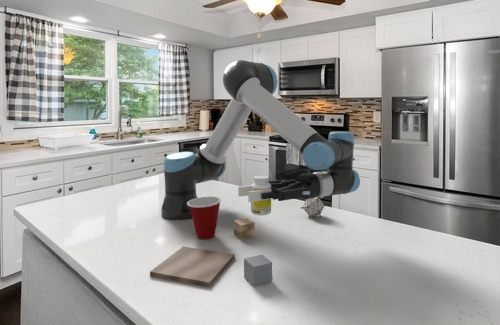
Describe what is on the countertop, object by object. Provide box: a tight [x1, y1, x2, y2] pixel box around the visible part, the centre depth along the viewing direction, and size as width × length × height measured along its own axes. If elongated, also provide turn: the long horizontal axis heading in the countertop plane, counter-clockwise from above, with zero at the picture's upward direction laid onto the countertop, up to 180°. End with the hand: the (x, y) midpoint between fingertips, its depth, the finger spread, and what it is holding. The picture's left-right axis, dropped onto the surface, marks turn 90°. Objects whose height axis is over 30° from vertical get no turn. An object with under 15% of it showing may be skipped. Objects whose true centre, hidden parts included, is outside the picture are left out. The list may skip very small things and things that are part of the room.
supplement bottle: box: [250, 175, 272, 216], centre depth 93 cm, size 6×6×10 cm
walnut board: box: [149, 246, 236, 288], centre depth 88 cm, size 16×16×1 cm
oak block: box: [233, 218, 256, 241], centre depth 108 cm, size 5×5×5 cm
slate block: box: [243, 254, 273, 288], centre depth 81 cm, size 5×5×5 cm
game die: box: [300, 197, 327, 219], centre depth 128 cm, size 9×8×10 cm
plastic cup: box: [187, 195, 222, 240], centre depth 108 cm, size 11×11×12 cm
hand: (244, 194), depth 91 cm, fingers closed on supplement bottle, 6 cm apart
